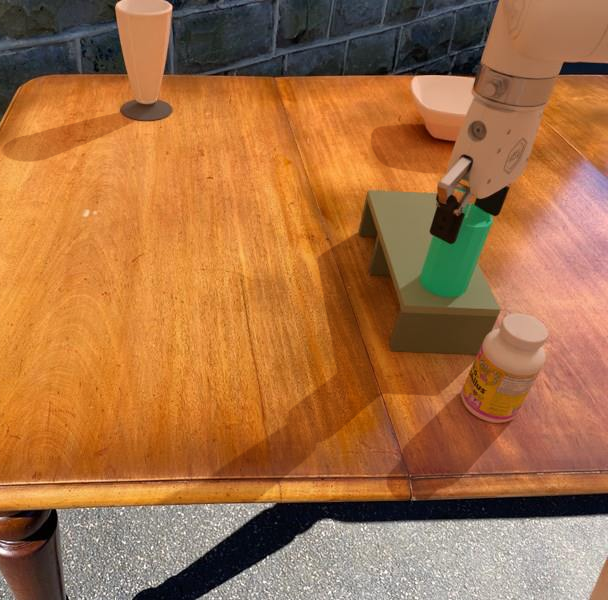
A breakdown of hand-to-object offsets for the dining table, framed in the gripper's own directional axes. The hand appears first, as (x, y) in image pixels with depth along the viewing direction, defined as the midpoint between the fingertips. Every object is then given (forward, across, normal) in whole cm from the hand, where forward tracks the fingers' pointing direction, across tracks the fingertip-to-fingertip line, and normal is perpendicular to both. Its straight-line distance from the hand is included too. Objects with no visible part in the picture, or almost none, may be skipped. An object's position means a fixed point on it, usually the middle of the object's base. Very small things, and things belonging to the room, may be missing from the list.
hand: (464, 224), depth 76 cm
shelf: (+17, +6, +7) cm, 20 cm away
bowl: (+17, +57, +33) cm, 68 cm away
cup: (+17, +12, +81) cm, 84 cm away
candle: (+9, 0, 0) cm, 9 cm away
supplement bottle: (+18, -6, -12) cm, 22 cm away
